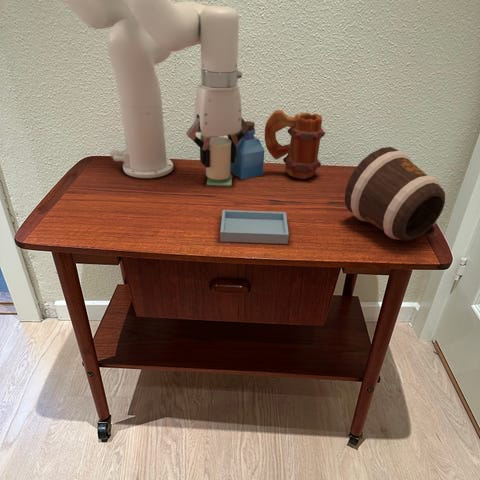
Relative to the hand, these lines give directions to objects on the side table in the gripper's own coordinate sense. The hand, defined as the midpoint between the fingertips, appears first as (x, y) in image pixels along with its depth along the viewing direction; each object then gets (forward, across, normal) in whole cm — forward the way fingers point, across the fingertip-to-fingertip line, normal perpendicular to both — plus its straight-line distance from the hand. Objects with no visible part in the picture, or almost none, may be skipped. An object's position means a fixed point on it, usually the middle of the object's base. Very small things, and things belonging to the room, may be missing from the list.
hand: (218, 162), depth 101 cm
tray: (+4, +4, +25) cm, 26 cm away
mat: (+4, 0, 0) cm, 4 cm away
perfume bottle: (+5, -9, -1) cm, 10 cm away
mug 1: (+4, -18, +4) cm, 20 cm away
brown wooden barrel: (-3, -23, +29) cm, 37 cm away
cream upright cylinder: (+3, 0, 0) cm, 3 cm away
